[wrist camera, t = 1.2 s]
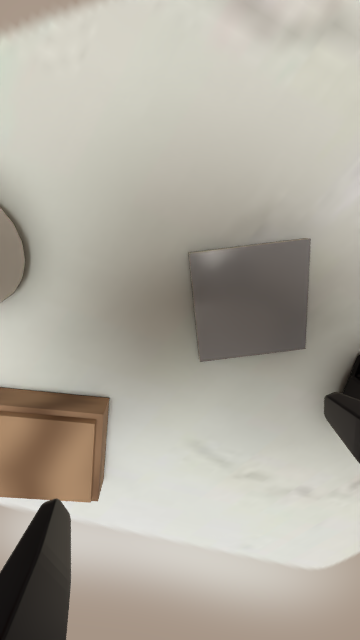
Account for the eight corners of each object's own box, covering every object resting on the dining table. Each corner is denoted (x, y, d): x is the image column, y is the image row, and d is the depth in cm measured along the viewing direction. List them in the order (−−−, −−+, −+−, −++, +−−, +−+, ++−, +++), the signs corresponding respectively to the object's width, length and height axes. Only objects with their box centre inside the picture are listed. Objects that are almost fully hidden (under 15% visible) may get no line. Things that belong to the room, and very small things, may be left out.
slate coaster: (304, 238, 18) (310, 238, 17) (300, 344, 20) (305, 348, 20) (188, 252, 18) (189, 253, 17) (198, 357, 20) (200, 361, 20)
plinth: (109, 398, 21) (101, 418, 19) (103, 480, 24) (96, 507, 22) (-7, 386, 21) (-30, 407, 18) (1, 472, 23) (-18, 500, 21)
